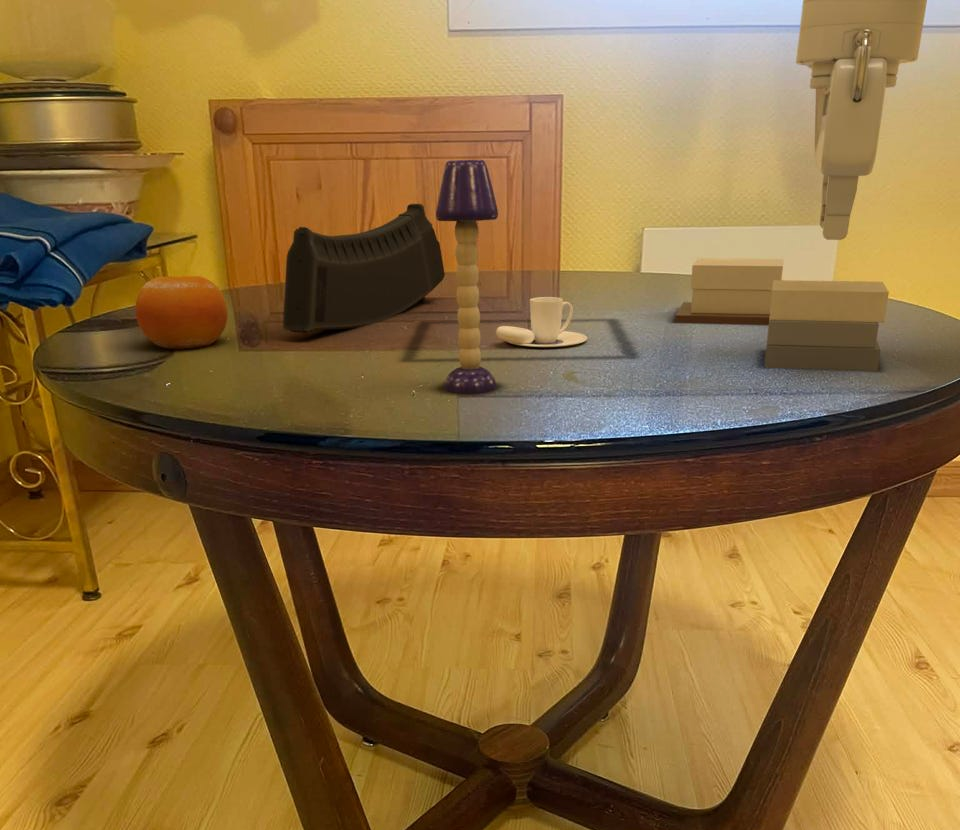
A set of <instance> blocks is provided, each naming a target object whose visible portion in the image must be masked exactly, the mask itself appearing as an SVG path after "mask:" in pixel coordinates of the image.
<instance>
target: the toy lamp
mask: <svg viewBox="0 0 960 830" xmlns="http://www.w3.org/2000/svg"><path fill="white" fill-rule="evenodd" d="M441 178H442V179H441V184H440V188H439V193H438V198H437V202H436V203H437V204H436V208H435V209H436V210H435V219H436V221H438V222H455V225H454V237H455V240H456V242H457V243H456V245H455V250H454V251H455V253H454V256H455V260H456V262H457V266H456V269H455V279H456V282H457V285H458V286H457V288H456V297H455V298H456V302H457V305H458V309H457V314H456V315H457V316H456V317H457V319H456V320H457V323H458V325H459V330H458V336H457V338H458V344H459V346H460V349H459V352H458V353H459V354H458V360H459V365H460V366H459V367H457V368H454V369H453V370H451V372H449V374H448V375H447V376H446V378H445V381H444V386H443V390H444V391H445V392H447V393H449V394H456V395H480V394H487V393H490V392H494V391H496V390H497V388H498V386H497V382H496V379H495V376H494V375H493V374H492V372H490V371H489V370H488V369H486V368H484V367H483V366H480V365H481V362H482V353H481V350H480V344H481V338H482V337H481V336H482V335H481V331H480V328H479V326H480V322H481V312H480V309H479V307H478V305H479V302H480V290H479V288H478V286H477V284H478V282H479V276H480V274H479V273H480V272H479V268H478V265H477V262H478V259H479V247H478V245H477V240H478V237H479V227H478V223H477V222H479V221H492V220H493V221H495V220H497V219H498V217H499V211H498V205H497V202H496V197H495V193H494V188H493V185H492V180H491V177H490V172H489V169H488V166H487V163H486V162H485V160H484V159H457V160H454V159H453V160H447V161H446V163H445V165H444V167H443V172H442V177H441Z"/></svg>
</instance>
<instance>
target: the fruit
mask: <svg viewBox="0 0 960 830" xmlns="http://www.w3.org/2000/svg"><path fill="white" fill-rule="evenodd" d="M134 309H135V310H134V313H135V318H136V322H137V324H138V327H139V328H140V330H141V332H142V333H143V335H144V336H146V338H147V339H148V340H149V341H150V342H152V343H153V345H156V346H158V347H160V348H162V349H167V350H168V349H169V350H185V349H197V348H202V347H209V346H211V345H212V344H214V343H215V342H216V341H218V339H219V338H220V336H221V335H222V334H223V332H224V330H225V328H226V325H227V321H228V307H227V302H226V299H225V296H224V294H223V292H222V291H221V289H220V288H219V287H218V285H216V284H215V283H214V282H213V281H211V280H210V279H208V278H206V277H204V276H200V275H188V276H172V275H171V276H169V275H168V276H156V277H153V278H152V279H150V280H148V281H147V282H146V283H145V284H144V285H142V286H141V289H140V290H139V292H138V293H137V297H136V301H135V308H134Z"/></svg>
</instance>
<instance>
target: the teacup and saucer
mask: <svg viewBox="0 0 960 830" xmlns="http://www.w3.org/2000/svg"><path fill="white" fill-rule="evenodd" d="M566 305H568V307H569V313H568V315H567V319H566V320H565V322H564V323H563V325H562V318H563V308H564V307H565V306H566ZM529 311H530V312H529V313H530V314H529V315H530V326H531V329H528V328H525V327H518V326H510V325H500V326H499V327H497V328H496V329H495V330H496V331H495V334H496V337H497V339H499V340H501V341H503V342H507V343H508V344H511V345H515V346H521V347H531V348H532V347H533V348H534V347H535V348H558V347H569V346H574V345H578V344H582V343H584V342H586V341H588V337H587V335H585V334H583V333H580V332H574V331H569V330H568V331H566V329H567V327H568V325H570V322H571V319H572V317H573V313H574V307H573V305H572V303H570V302H569V301H564V300H563V298H562V297H556V296H540V297H533V298H530V299H529ZM561 325H562V326H561ZM534 340H535V342H536V343H537V344H534V343H532V342H533V341H534ZM557 340H558V341H562V342H561V343H557V344H555V343H556V341H557Z"/></svg>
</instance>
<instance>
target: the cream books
mask: <svg viewBox="0 0 960 830" xmlns="http://www.w3.org/2000/svg"><path fill="white" fill-rule="evenodd" d="M783 269H784V259H783V258H726V257H725V258H723V257H722V258H720V257H719V258H715V257H714V258H712V257H705V258H704V257H703V258H702V257H697V258H696V260H695V261H694V262H693V264H692V268H691V278H690V279H691V280H690V289H691V290H692V293H691V294H692V295H691V301H683V302H682V304H681V305H680V307H679V309H678V310H677V312H676V313H675V315H674V323H675V324H708V325H709V324H710V325H711V324H712V325H748V326H749V325H753V326H769V317H770V308H771V298H772V289H773V281H774V280H783V279H782V278H783Z"/></svg>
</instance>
